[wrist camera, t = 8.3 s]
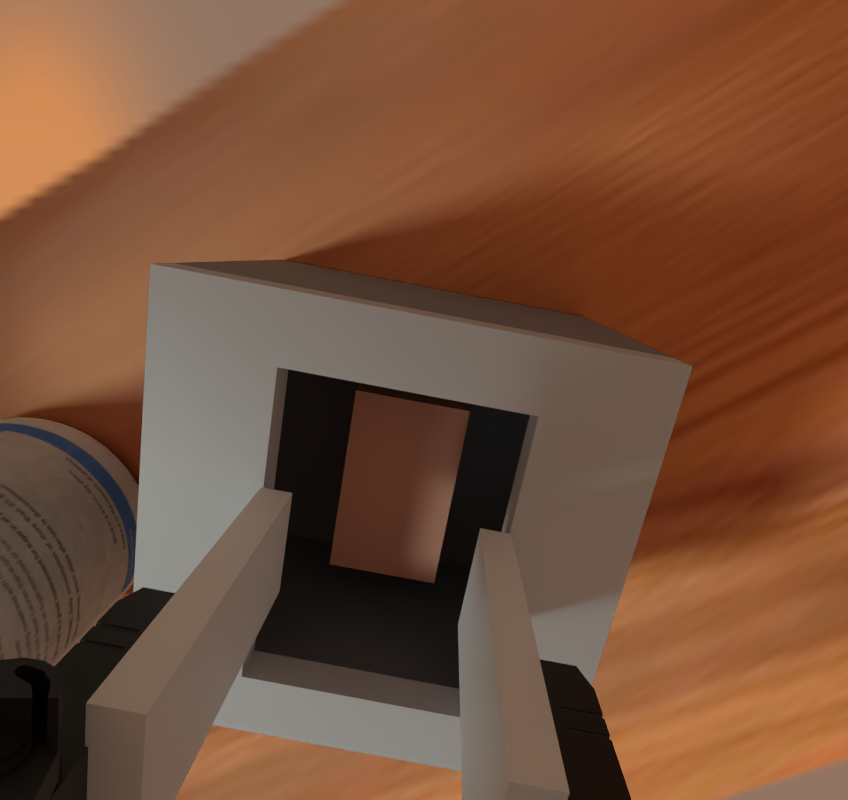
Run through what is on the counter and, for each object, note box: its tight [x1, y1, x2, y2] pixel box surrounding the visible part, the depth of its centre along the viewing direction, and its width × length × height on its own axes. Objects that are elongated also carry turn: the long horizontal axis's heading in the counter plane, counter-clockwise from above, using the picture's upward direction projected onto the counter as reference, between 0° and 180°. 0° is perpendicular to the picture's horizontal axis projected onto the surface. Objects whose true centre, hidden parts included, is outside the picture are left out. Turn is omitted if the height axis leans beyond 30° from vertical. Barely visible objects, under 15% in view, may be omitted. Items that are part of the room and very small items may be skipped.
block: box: [330, 383, 470, 583], centre depth 20 cm, size 6×4×5 cm, turn 170°
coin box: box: [133, 260, 693, 771], centre depth 18 cm, size 12×12×10 cm
